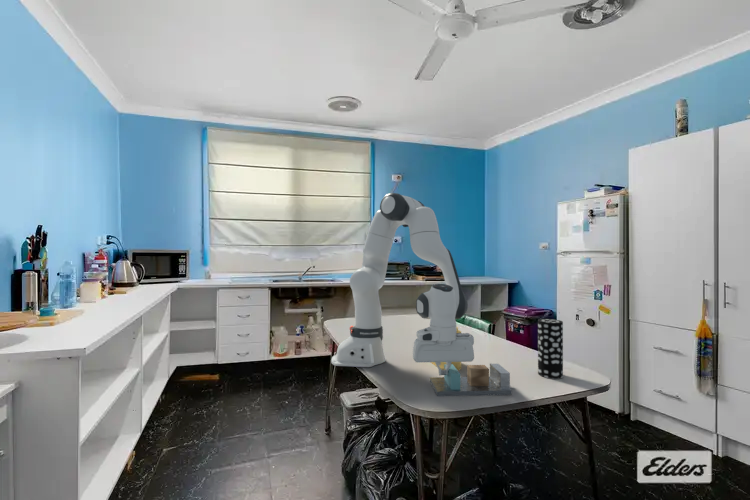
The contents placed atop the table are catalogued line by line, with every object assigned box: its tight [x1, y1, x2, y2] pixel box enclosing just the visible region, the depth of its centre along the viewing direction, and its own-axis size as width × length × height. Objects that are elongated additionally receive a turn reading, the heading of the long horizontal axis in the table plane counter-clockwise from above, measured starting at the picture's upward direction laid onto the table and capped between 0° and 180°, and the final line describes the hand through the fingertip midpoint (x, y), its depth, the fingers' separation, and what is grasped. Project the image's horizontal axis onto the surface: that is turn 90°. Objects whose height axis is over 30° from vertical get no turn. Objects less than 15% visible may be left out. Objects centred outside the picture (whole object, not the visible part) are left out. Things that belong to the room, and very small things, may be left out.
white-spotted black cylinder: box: [537, 318, 564, 380], centre depth 137 cm, size 8×8×20 cm
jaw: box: [443, 364, 461, 390], centre depth 124 cm, size 3×10×5 cm, turn 2°
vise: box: [429, 363, 513, 397], centre depth 125 cm, size 24×13×6 cm, turn 92°
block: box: [466, 364, 490, 386], centre depth 125 cm, size 6×4×6 cm
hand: (443, 374), depth 124 cm, fingers closed
